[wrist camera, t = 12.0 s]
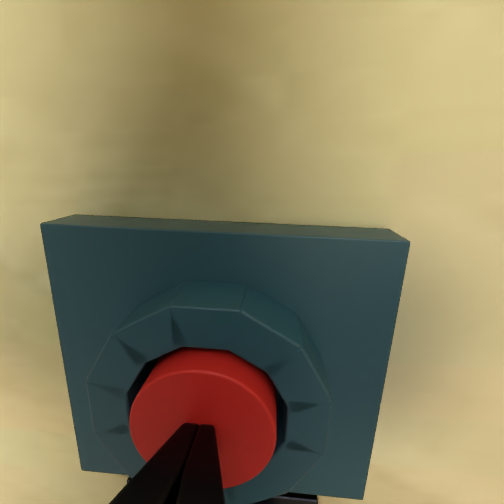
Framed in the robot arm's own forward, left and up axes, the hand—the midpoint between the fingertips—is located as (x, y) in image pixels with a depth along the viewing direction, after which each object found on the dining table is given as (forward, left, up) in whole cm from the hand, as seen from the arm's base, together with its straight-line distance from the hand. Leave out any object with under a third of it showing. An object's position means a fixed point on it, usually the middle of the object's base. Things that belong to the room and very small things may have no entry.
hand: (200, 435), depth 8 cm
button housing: (0, 0, -4) cm, 4 cm away
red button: (0, 0, -2) cm, 2 cm away
